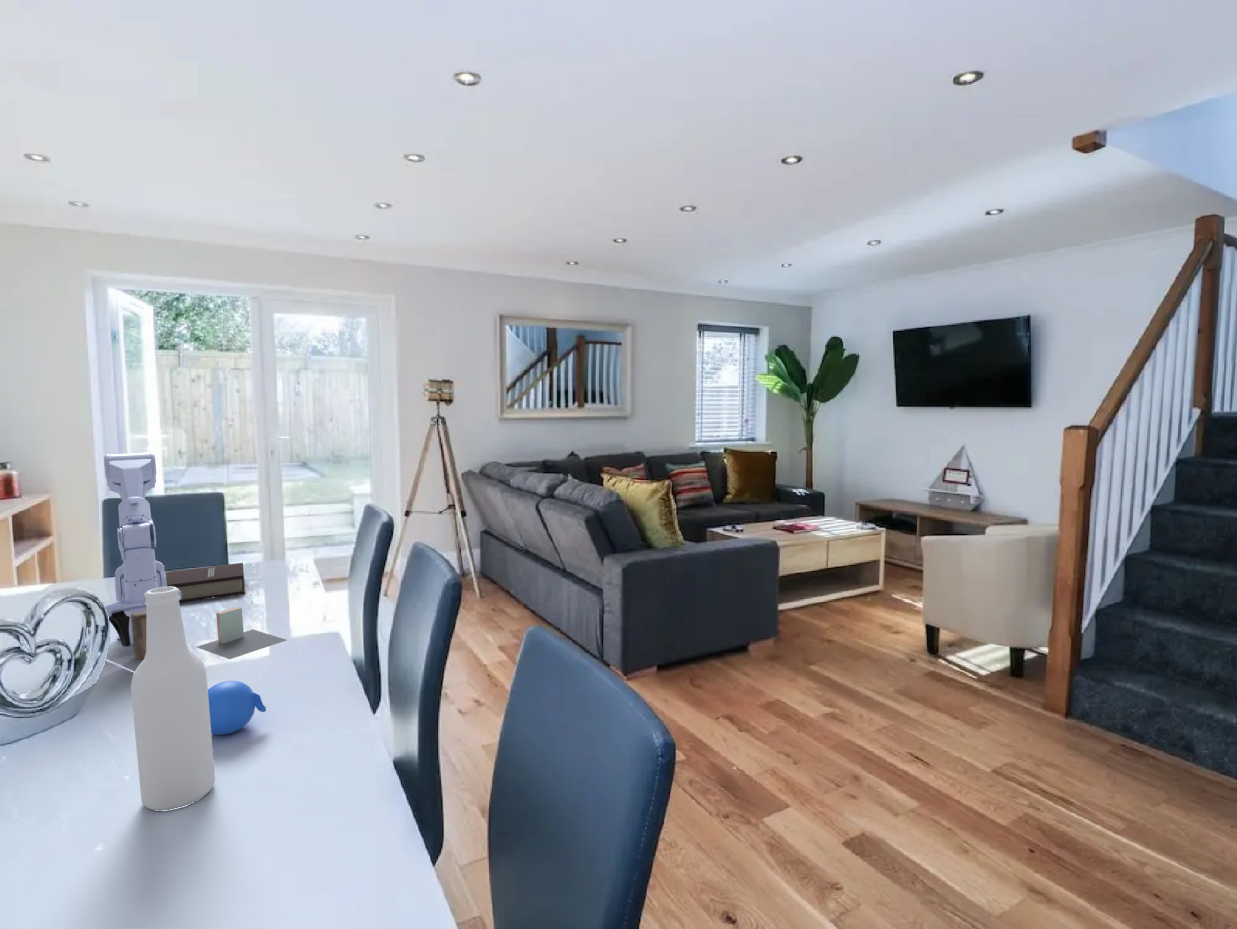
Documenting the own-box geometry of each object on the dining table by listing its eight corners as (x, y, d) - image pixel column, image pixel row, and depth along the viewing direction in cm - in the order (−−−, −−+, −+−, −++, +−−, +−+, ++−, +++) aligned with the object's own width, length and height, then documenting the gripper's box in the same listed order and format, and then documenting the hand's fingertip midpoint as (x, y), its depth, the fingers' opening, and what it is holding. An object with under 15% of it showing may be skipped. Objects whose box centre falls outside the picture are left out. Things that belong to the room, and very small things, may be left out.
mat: (196, 648, 152) (196, 646, 152) (253, 630, 163) (253, 629, 163) (229, 660, 145) (229, 658, 145) (287, 641, 156) (286, 639, 156)
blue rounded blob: (281, 707, 123) (278, 662, 122) (258, 739, 111) (254, 691, 110) (209, 713, 121) (205, 668, 120) (178, 747, 109) (174, 697, 108)
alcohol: (134, 820, 90) (113, 603, 87) (150, 786, 98) (131, 585, 95) (210, 804, 94) (193, 594, 91) (219, 772, 102) (203, 578, 99)
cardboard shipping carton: (134, 658, 147) (130, 614, 146) (150, 654, 149) (146, 610, 148) (145, 663, 144) (141, 618, 143) (161, 658, 147) (157, 614, 146)
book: (244, 579, 211) (242, 561, 211) (245, 595, 194) (243, 575, 194) (135, 593, 198) (133, 574, 197) (126, 612, 181) (124, 590, 180)
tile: (218, 642, 155) (216, 612, 154) (240, 635, 159) (238, 606, 158) (222, 643, 154) (219, 613, 153) (243, 636, 158) (241, 607, 158)
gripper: (109, 589, 137) (115, 654, 138) (186, 573, 149) (191, 632, 150) (94, 585, 140) (100, 647, 142) (170, 569, 153) (175, 627, 154)
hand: (146, 639), depth 146 cm, fingers open, 7 cm apart
